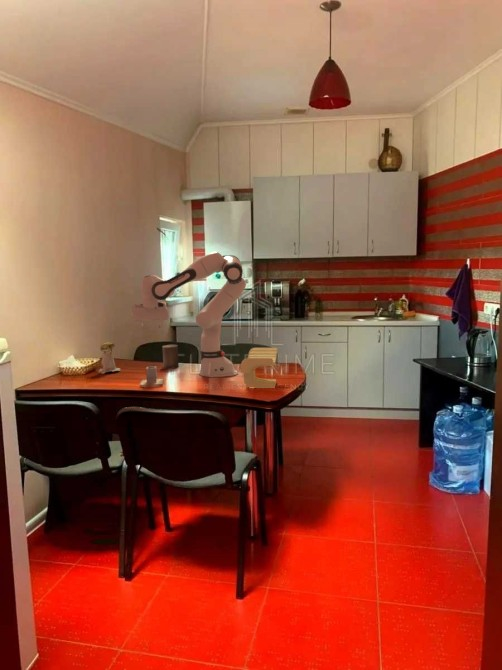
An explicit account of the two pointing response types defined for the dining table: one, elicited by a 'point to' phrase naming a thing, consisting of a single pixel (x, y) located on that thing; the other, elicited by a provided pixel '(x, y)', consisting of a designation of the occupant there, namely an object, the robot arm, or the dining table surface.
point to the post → (158, 384)
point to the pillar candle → (170, 356)
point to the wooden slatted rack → (255, 360)
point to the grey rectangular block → (151, 374)
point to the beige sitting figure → (107, 358)
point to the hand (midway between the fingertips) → (151, 328)
